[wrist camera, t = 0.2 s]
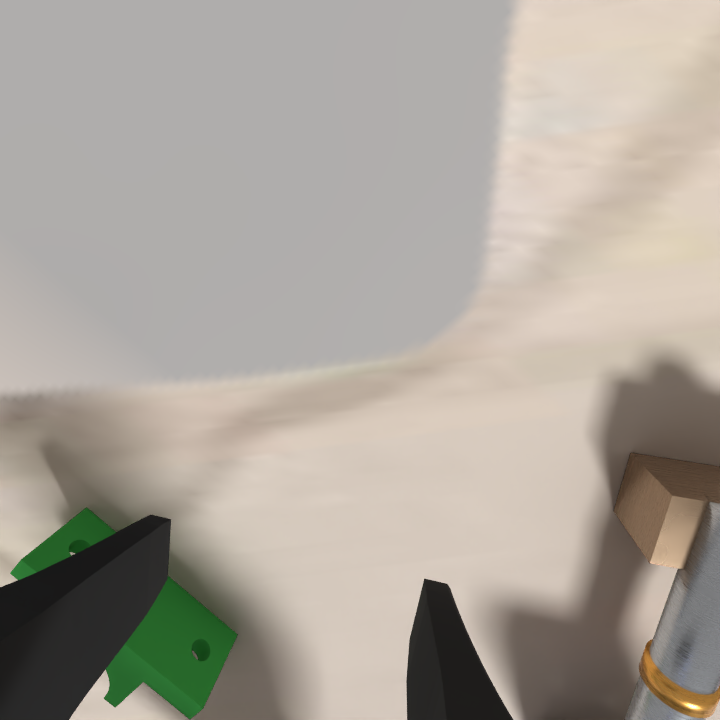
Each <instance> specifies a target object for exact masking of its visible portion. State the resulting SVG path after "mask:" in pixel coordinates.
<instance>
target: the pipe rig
mask: <svg viewBox="0 0 720 720" xmlns="http://www.w3.org/2000/svg"><path fill="white" fill-rule="evenodd" d="M614 513H615V514H616V515H617V517H618V518H619V520H620V521H621V523H622V524H623V525H624V527H625V528H626V530H627V531H628V533H629V534H630V536H631V537H632V538H633V540H634V541H635V543H636V544H637V546H638V547H639V548H640V550H641V551H642V553H643V554H644V556H645V557H646V558H647V560H648V561H649V563H651V564H657V565H662V566H668V567H673V568H678V570H677V573H676V575H675V578H674V581H673V584H672V587H671V590H670V592H669V595H668V598H667V601H666V604H665V607H664V609H663V612H662V615H661V618H660V621H659V623H658V626H657V629H656V632H655V635H654V638H653V639H652V640H650V641H649V642H648V643H647V644H646V647H645V650H644V652H643V655H642V658H641V661H640V664H639V672H640V677H639V680H638V683H637V686H636V688H635V691H634V694H633V697H632V700H631V702H630V705H629V708H628V711H627V714H626V717H625V719H624V720H705V719H706V718H707V717H710V716H711V715H712V714H713V713H714V711H715V709H716V706H717V704H718V702H719V699H720V467H719V466H713V465H706V464H700V463H693V462H687V461H680V460H674V459H668V458H661V457H655V456H648V455H642V454H635V453H631V454H630V457H629V460H628V464H627V467H626V470H625V474H624V477H623V481H622V484H621V487H620V491H619V494H618V497H617V501H616V504H615V507H614Z"/></svg>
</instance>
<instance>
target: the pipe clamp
mask: <svg viewBox="0 0 720 720" xmlns="http://www.w3.org/2000/svg"><path fill="white" fill-rule="evenodd" d="M115 533H116V532H115V531H114V530H113V529H112V528H110V527H109V526H108V525H107V524H106V523H105V522H103V521H102V520H101V519H100V518H99V517H97V516H96V515H95V514H94V513H93V512H91V511H90V510H89V509H88V508H85V509H84V510H83V511H82V512H80V513H79V514H78V515H77V516H75V517H74V518H73V519H72V520H70V521H69V522H68V523H67V524H65V525H64V526H63V527H62V528H60V529H59V530H58V531H57V532H55V533H54V534H53V535H52V536H50V537H49V538H48V539H46V540H45V541H44V542H43V543H41V544H40V545H39V546H38V547H36V548H35V549H34V550H33V551H31V552H30V553H29V554H28V555H26V556H25V557H24V558H23V559H21V561H20V562H19V563H18V564H17V565H16V567H15V568H14V569H13V570H12V571H11V573H10V574H12V575H13V576H14V577H15V578H16V579H18V580H20V579H23V578H25V577H27V576H30V575H32V574H34V573H36V572H38V571H41V570H43V569H45V568H47V567H49V566H51V565H53V564H55V563H57V562H59V561H62V560H64V559H66V558H68V557H70V556H71V554H70V553H69V552H73V553H78V552H80V551H82V550H84V549H86V548H88V547H90V546H92V545H94V544H96V543H98V542H99V541H101V540H103V539H105V538H107V537H109V536H111V535H113V534H115ZM237 635H238V634H236V633H235V632H234V631H233V630H232V629H230V628H229V627H228V626H227V625H226V624H225V623H223V622H222V621H221V620H220V619H219V618H217V617H216V616H215V615H214V614H213V613H211V612H210V611H209V610H208V609H207V608H206V607H204V606H203V605H202V604H201V603H200V602H198V601H197V600H196V599H195V598H194V597H192V596H191V595H190V594H189V593H188V592H187V591H185V590H184V589H183V588H182V587H181V586H179V585H178V584H177V583H176V582H175V581H173V580H172V579H171V578H170V577H169V576H168V577H167V581H166V583H165V585H164V586H163V588H162V590H161V591H160V593H159V595H158V597H157V598H156V600H155V602H154V603H153V605H152V607H151V608H150V610H149V612H148V613H147V615H146V616H145V618H144V619H143V620H142V622H141V623H140V624H139V626H138V627H137V628H136V630H135V631H134V632H133V634H132V635H131V636H130V638H129V639H128V640H127V642H126V643H125V644H124V646H123V647H122V648H121V650H120V651H119V652H118V654H117V655H116V656H115V657H114V659H113V660H112V661H111V663H110V664H109V665H108V667H107V668H106V671H107V674H108V677H109V682H110V686H109V691H108V693H107V694H106V696H105V697H104V699H105V700H106V701H108V702H109V703H110V704H111V705H113V706H114V707H116V706H117V705H119V704H120V703H121V702H122V701H123V700H124V699H125V698H126V697H127V696H128V695H129V694H131V693H132V692H133V691H134V690H135V689H136V688H137V687H138V686H139V685H140V684H141V683H142V682H144V683H146V684H147V685H148V686H149V687H151V688H152V689H153V690H154V691H155V692H157V693H158V694H159V695H160V696H162V697H163V698H164V699H165V700H167V701H168V702H169V703H170V704H171V705H173V706H174V707H175V708H176V709H178V710H179V711H180V712H181V713H183V714H184V715H185V716H186V717H187V718H189V719H191V718H192V717H194V716H195V715H196V714H197V713H198V712H200V711H201V710H202V709H203V708H204V706H205V703H206V701H207V699H208V697H209V695H210V693H211V691H212V689H213V686H214V684H215V682H216V680H217V678H218V676H219V674H220V671H221V669H222V667H223V665H224V663H225V661H226V659H227V657H228V654H229V652H230V650H231V648H232V646H233V644H234V642H235V639H236V637H237ZM192 650H193V651H194V652H195V653H196V654H197V656H198V660H197V659H196V658H195V657H194V656H193V654H192Z"/></svg>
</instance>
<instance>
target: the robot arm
mask: <svg viewBox="0 0 720 720" xmlns="http://www.w3.org/2000/svg"><path fill="white" fill-rule="evenodd" d="M170 528H171V519H167V518H163V517H159V516H154V515H149V516H147V517H145V518H143V519H141V520H139V521H137V522H135V523H133V524H131V525H130V526H128V527H126V528H124V529H122V530H120V531H118V532H116V533H115V534H113V535H111V536H109V537H107V538H105V539H103V540H101V541H99V542H98V543H96V544H94V545H92V546H90V547H88V548H86V549H84V550H82V551H80V552H78V553H76V554H74V555H72V556H70V557H68V558H66V559H64V560H62V561H59V562H57V563H55V564H53V565H51V566H49V567H47V568H45V569H43V570H41V571H38V572H36V573H34V574H32V575H30V576H27V577H25V578H23V579H20V580H18V581H15V582H13V583H10V584H8V585H5V586H3V587H0V720H69V719H70V717H71V716H72V714H73V713H74V711H75V710H76V708H77V707H78V706H79V704H80V703H81V701H82V700H83V699H84V697H85V696H86V694H87V693H88V692H89V690H90V689H91V688H92V686H93V685H94V684H95V682H96V681H97V680H98V679H99V677H100V676H101V675H102V673H103V672H104V671H105V669H106V668H107V667H108V665H109V664H110V663H111V661H112V660H113V659H114V657H115V656H116V655H117V654H118V652H119V651H120V650H121V648H122V647H123V646H124V644H125V643H126V642H127V640H128V639H129V638H130V636H131V635H132V634H133V632H134V631H135V630H136V628H137V627H138V626H139V624H140V623H141V622H142V620H143V619H144V618H145V616H146V615H147V613H148V612H149V610H150V608H151V607H152V605H153V603H154V602H155V600H156V598H157V597H158V595H159V593H160V591H161V590H162V588H163V586H164V585H165V583H166V581H167V577H168V561H169V544H170ZM407 720H513V719H512V717H511V715H510V714H509V712H508V710H507V709H506V707H505V705H504V703H503V702H502V700H501V698H500V696H499V695H498V693H497V691H496V689H495V687H494V686H493V684H492V682H491V680H490V678H489V676H488V674H487V672H486V670H485V668H484V666H483V664H482V663H481V661H480V658H479V656H478V654H477V652H476V650H475V648H474V646H473V644H472V641H471V639H470V637H469V635H468V633H467V630H466V628H465V626H464V623H463V621H462V619H461V616H460V614H459V611H458V609H457V606H456V603H455V601H454V598H453V595H452V592H451V589H450V588H449V586H448V585H447V584H445V583H441V582H436V581H432V580H428V579H424V583H423V587H422V591H421V595H420V599H419V603H418V607H417V612H416V616H415V620H414V624H413V628H412V632H411V636H410V643H409V655H408V668H407Z"/></svg>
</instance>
